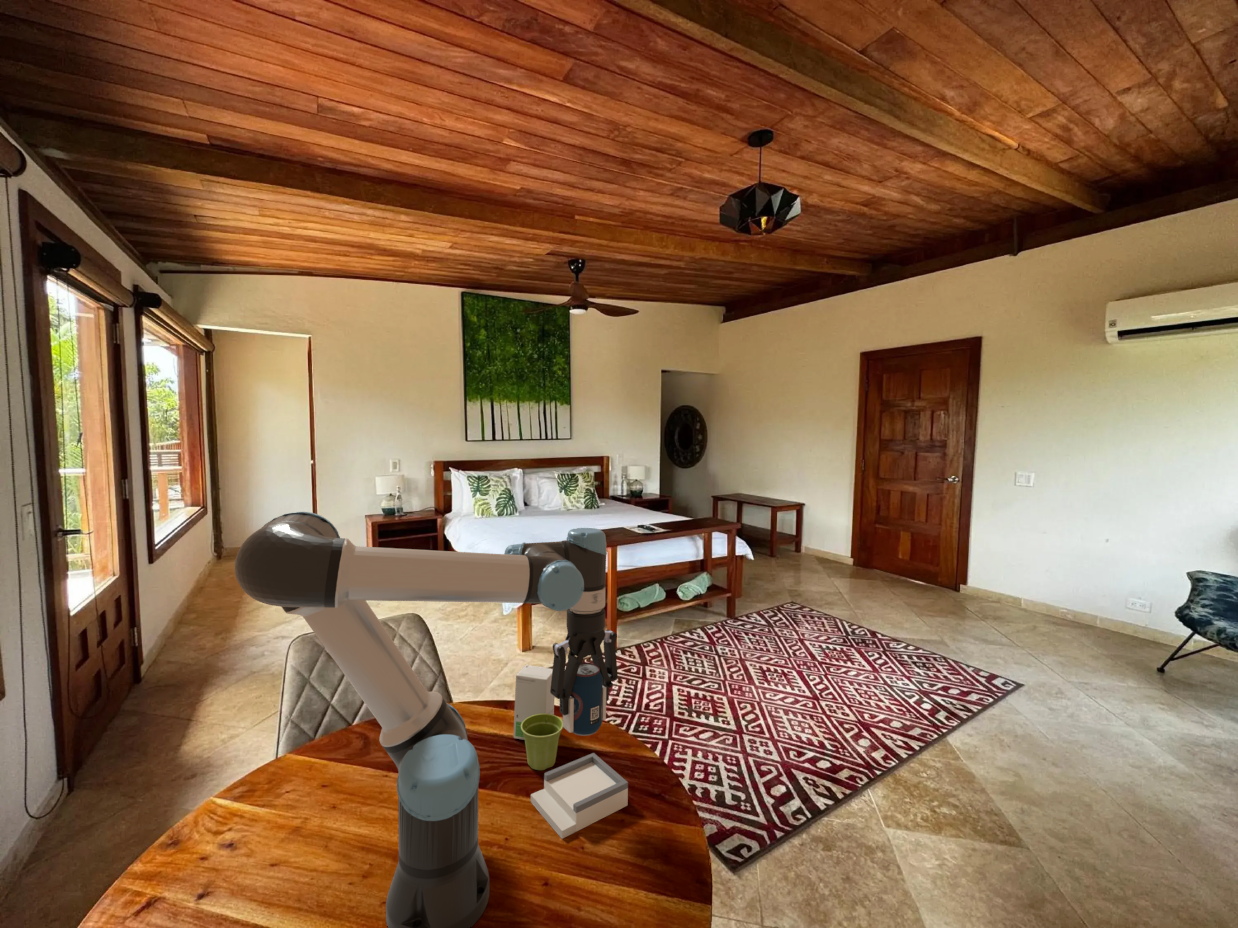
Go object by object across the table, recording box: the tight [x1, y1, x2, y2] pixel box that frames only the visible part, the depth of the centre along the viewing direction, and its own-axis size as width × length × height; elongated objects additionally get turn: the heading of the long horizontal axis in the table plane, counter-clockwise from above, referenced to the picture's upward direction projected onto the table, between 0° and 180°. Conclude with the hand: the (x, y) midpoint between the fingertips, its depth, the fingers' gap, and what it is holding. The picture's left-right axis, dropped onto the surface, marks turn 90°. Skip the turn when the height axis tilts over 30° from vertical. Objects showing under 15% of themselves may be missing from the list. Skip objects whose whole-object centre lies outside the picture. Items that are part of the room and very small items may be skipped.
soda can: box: [570, 662, 603, 737], centre depth 104 cm, size 7×7×12 cm
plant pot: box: [521, 713, 564, 771], centre depth 117 cm, size 9×9×9 cm
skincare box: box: [513, 664, 556, 741], centre depth 128 cm, size 8×7×16 cm
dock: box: [530, 752, 629, 840], centre depth 104 cm, size 15×12×5 cm
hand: (584, 722), depth 104 cm, fingers closed on soda can, 7 cm apart
